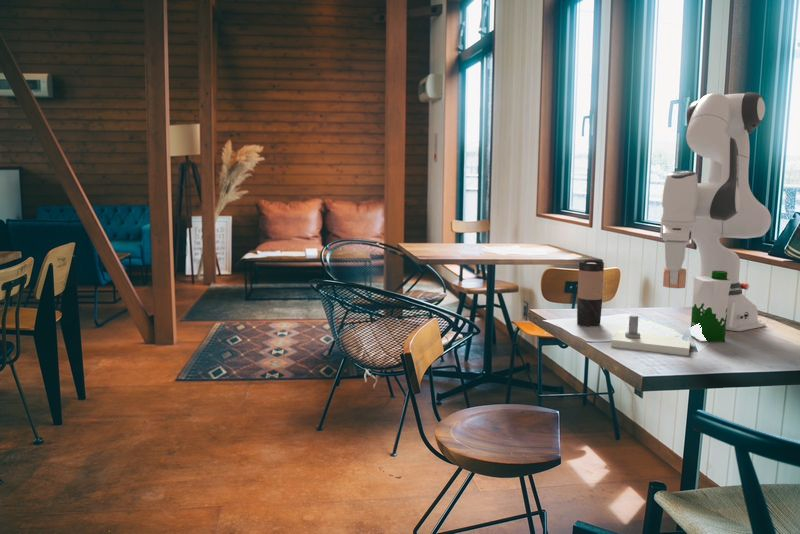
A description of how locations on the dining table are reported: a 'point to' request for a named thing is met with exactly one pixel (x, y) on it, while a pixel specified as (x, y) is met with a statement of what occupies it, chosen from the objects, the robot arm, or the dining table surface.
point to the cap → (680, 282)
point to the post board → (649, 341)
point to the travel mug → (590, 293)
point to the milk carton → (711, 305)
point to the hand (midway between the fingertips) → (674, 281)
